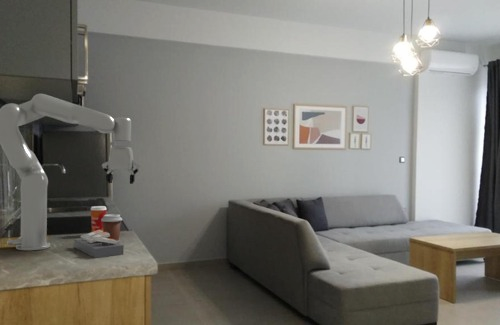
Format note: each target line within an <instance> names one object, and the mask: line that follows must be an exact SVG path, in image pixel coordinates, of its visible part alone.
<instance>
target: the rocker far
mask: <svg viewBox="0 0 500 325" xmlns="http://www.w3.org/2000/svg"><path fill="white" fill-rule="evenodd" d="M101 233H103V231H101V230H97V231H94V232H92V231H91V232H89V233H86V234H85V233H84V234H83V235H80V239H82V240H86V239H87V238H90V237H93V236H95V235H98V234H101Z"/></svg>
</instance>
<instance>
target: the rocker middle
mask: <svg viewBox="0 0 500 325" xmlns="http://www.w3.org/2000/svg"><path fill="white" fill-rule="evenodd" d="M95 237H102V238H107V237H110V234H109V233H107V232H104V233H101V234H98V235H95ZM86 240H87V242H89V243H93V242H96V241H95V240H93V237H90V238H87V239H86Z"/></svg>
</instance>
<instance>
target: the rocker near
mask: <svg viewBox="0 0 500 325" xmlns="http://www.w3.org/2000/svg"><path fill="white" fill-rule="evenodd" d="M93 240H95V241H100V242H107V243H114V244H116V243H118V242H117V241H116V240H114V239H109V238H102V237H95V236H93Z"/></svg>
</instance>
